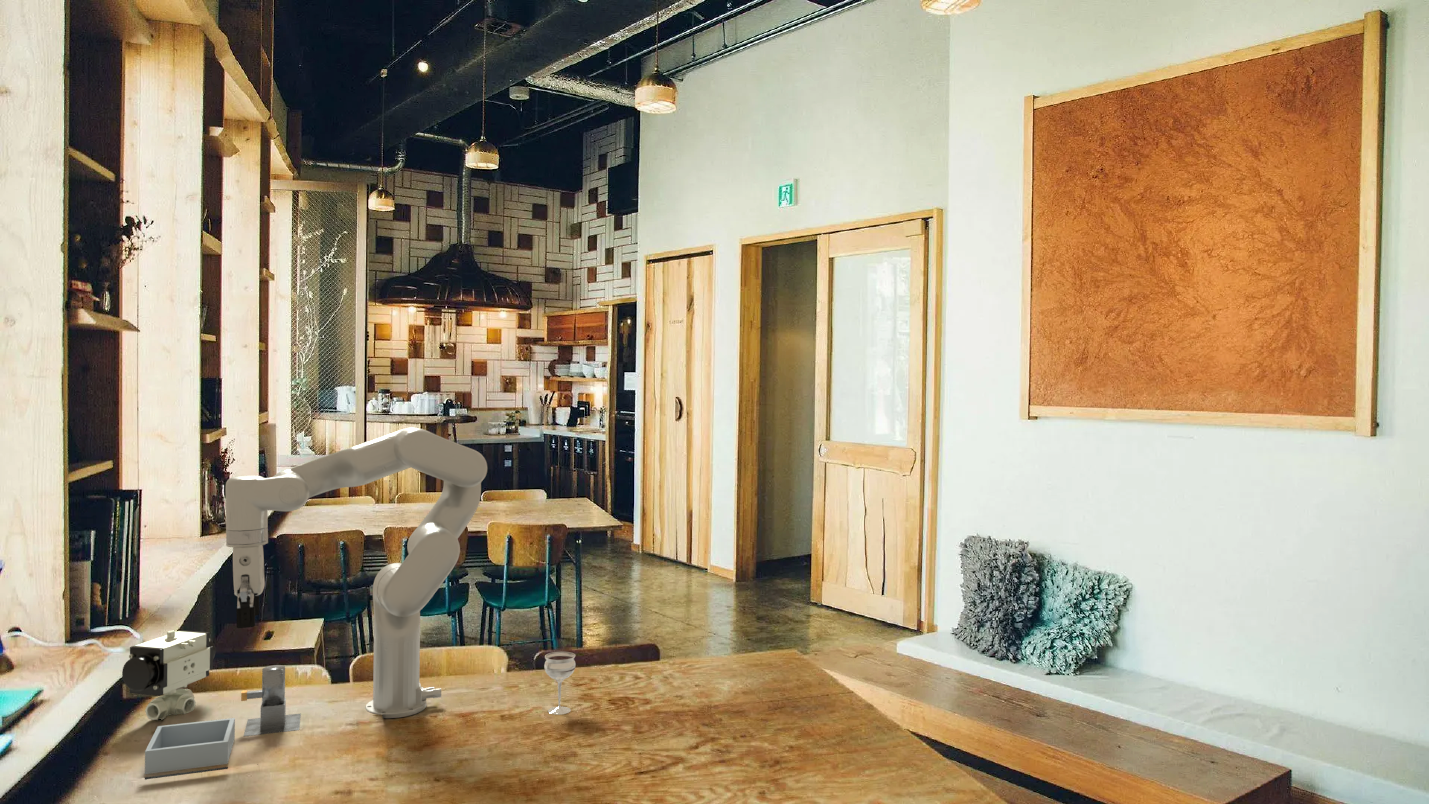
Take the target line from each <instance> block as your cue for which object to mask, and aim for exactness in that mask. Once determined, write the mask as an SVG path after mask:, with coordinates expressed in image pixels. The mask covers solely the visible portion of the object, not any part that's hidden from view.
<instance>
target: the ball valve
mask: <svg viewBox="0 0 1429 804" xmlns="http://www.w3.org/2000/svg"><path fill="white" fill-rule="evenodd" d="M215 656H216V646H215V643H214V642H213V640H212V639H211V638H210V632H207V631H196V630H195V631H193V630H183V629H182V630H178V631H175V630H169V631H166V634H165V635H164V636H160V637H157V638H154V639H151V640H148V641H145V642H142V643H139V644H136V645H132V646H130V647H129V655H128V658H129V659H128V660H127V661H126V662H125V663H124V665H123V667H122V674H121V676H122V680H123V682H124V684H125V686H126V687H127V688H128V689H129V694H134V695H148V696H157V697H156V698H155V697H154V699H152V700H151V701H150V702H148V704H147V705H146V707H145V710H144V712H145V715H146V717H147V718H148V719H149V720H152V721H159V720H158V719H161V720H160V721H162V720H165V718H166V717H168V716H170V715H176V716H177V715H186V714H189V713H190V712H193V711H194V710H195V706H196V704H197V702H196V700H195V695H194V693H193V691H192V690H191V689H188V688H187V687H188V685H191V684H192V683H195V682H197V681H200V680H202V679H204V678H207V677H210V670H212V669H214V658H215Z"/></svg>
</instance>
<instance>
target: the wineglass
mask: <svg viewBox="0 0 1429 804" xmlns="http://www.w3.org/2000/svg"><path fill="white" fill-rule="evenodd" d="M575 657H576V654H575V653H573V652H569V651H552V652H549V653H547V654H545V655H544V659H545V662H544V665H543V666H544V671H545V674H546V675H547V676H548V677H549V678H551V679H552V680H555V681H556V682H557V697H558V700H557V701H558V702H557V703H558V706H555V707H550V708H549V709H547V712H548V713H549V714H551V715H566V714H569V713H570V712H571V710H572V709H571V708H569V707H567V706H561V702H562V698H561V697H562V696H561V695H562V683H563V682H564V680H566V679H568V678H569V677H570V676H571V675H572V674H573V673H574V672H575V669H576V665H577V664H576V661H575Z"/></svg>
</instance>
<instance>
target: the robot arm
mask: <svg viewBox="0 0 1429 804" xmlns="http://www.w3.org/2000/svg"><path fill="white" fill-rule="evenodd" d="M410 468H411V469H413V470H416V471H419V472H421V473H422V474H425V475H428V476H430V477H433V478H435V479H439V480H442V481H443V488H442V491H441V494H440V496H439V498H438V499H437V500H436V502H435V504H434V505H433V506H432V508H431V509H430V511H429V512H428V513H427V515H426V516H425V517H424V518H423V519H422V521H421V523H419V524H418V526H417V527H416V528H415V530H414V531H413V532H412V533H411V535H410V536H409V538H408V541H407V546H406V547H407V549H406V550H407V553H408V555H407V556H406V557H405V559H404V560H403V561H402V562H394V563H390V564H387V565H385V566H384V567H383V568H381V569H380V570H379V571H378V572H377V574H376V576H375V578H374V580H373V585H372V602H373V626H374V627H373V671H372V672H373V678H372V679H373V682H372V684H373V685H372V688H373V691H372V700H370V701H369V702H367V703H366V704H365V708H364V709H365V710H366V711H367V712H369V713H370V714H373V715H381V717H382V719H396V718H397V719H398V718H399V719H400V718H404V717H410V716H413V715H416V714H419V713H420V712H423V711H424V710H425V708H427V699H439V698H442V688H441V687H440V688H435V686H429V687H424V686H422V685H421V681H420V669H421V667H420V659H421V655H420V654H421V652H420V651H421V649H420V648H421V647H420V646H421V610H423V608H424V607H425V606H426V605H427V604H428V603H429V601H430V600H431V599H432V598H433V597H434V595H435V593H436V592H437V591H438V590H439V588H441V586H442V584H443V583H444V582H445V580H446V579H447V577H448V576H449V575H450V573H451V572H452V571H453V569H454V567H455V566H456V564H457V562H458V560H459V559H460V558H459V557H460V554H461V553H460V552H461V545H460V542H459V540H458V539H459V538H460V536H461V535H462V534H463V533H464V531H465V529H466V527H467V526H468V524H469V523H470V521H471V520H472V518H473V517H474V516H475V513H476V511H477V510H478V507H479V506H480V505H479V504H480V501H481V495H482V494H481V493H482V482H483V480H484V479H486V476H487V473H488V463H487V460H486V458H485V457H484V456H483V454H482V453H480V452H479V451H477V450H476V449H473V448H470V447H468V446H465V445H463V444H459V443H458V442H454V441H452V440H451V439H450V440H449V439H447V438H445V437H442V436H439V434H438V435H437V434H436V433H434V432H431V431H429V430H426V429H424V428H419V427H411V426H410V427H406V428H402V429H398V430H397V431H396V430H395V431H394V432H390V433H388V434H385V435H382V436H380V437H376V438H374V439H372V440H368V441H365V442H362V443H360V444H356V445H354V446H350V447H347V448H345V449H342V450H339V451H336V452H334V453H331V454H328V455H325V456H322V457H319V458H316V459H313V460H310V461H307V462H304V463H300V464H298V465H295V466H292V467H289V468H286V469H285V470H281V471H279V472H277V473H275V474H274V475H273V476H272V477H264V476H261V475H238V476H232V477H230V478H228V479H227V480H226V482H225V529H226V530H225V534H226V535H225V542H226V545H225V546H226V547H228V548H232V577H233V581H232V582H233V590H234V591H233V592H234V593H233V594H234V596H236V597H237V604H236V605H237V606H236V607H235V608H236V609H235V610H236V613H235V614H236V628H237V629H246V628H255V625H256V617H257V616H259V615H260V595H261V594H262V593H263V591H264V588H265V585H266V584H265V559H264V546H265V545H266V544H269V532H268V531H269V529H268V528H269V527H268V523H269V522H268V521H269V519H268V517H269V516H268V511H275V512H294V511H297V510H299V509H301V508H303V507H304V505H305V504H307V502H308V500H309V499H310V498H312V497H315V496H318V495H321V494H324V493H326V492H330V491H333V490H337V489H344V488H356V487H361V486H364V485H368V484H370V483H373V482H376V481H378V480H381V479H384V478H385V477H389V476H391V475H394V474H397V473H400V472H403V471H405V470H408V469H410Z"/></svg>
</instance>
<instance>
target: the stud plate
mask: <svg viewBox="0 0 1429 804" xmlns="http://www.w3.org/2000/svg"><path fill="white" fill-rule="evenodd" d="M301 715H302V713H293V714H286V720H285V727H279V728H270V729H261V730H260V717H256V718H247V721H246V725H245V729H244V733H243V737H249V736H250V737H253V736H260V735H269V734H270V735H271V734H277V733H286V732H287V733H288V732H295V731H299V730H300V726H301V717H302V716H301Z"/></svg>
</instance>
